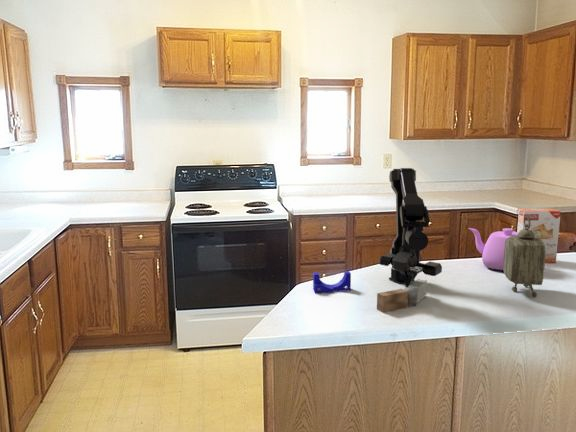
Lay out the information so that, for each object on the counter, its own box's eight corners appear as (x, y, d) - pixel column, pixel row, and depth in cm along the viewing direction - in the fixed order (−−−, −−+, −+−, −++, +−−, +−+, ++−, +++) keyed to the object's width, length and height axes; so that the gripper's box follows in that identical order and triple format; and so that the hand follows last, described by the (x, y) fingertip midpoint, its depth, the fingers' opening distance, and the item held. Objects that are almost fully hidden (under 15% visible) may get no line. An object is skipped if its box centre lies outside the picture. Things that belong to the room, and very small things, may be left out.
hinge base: (410, 302, 158) (411, 286, 158) (419, 305, 155) (419, 289, 154) (376, 309, 153) (376, 292, 152) (384, 313, 149) (384, 296, 148)
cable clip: (315, 293, 168) (315, 276, 167) (313, 289, 172) (313, 272, 171) (351, 292, 169) (351, 274, 168) (348, 288, 173) (348, 271, 172)
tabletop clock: (541, 299, 160) (548, 220, 156) (510, 297, 162) (516, 219, 157) (530, 285, 174) (535, 212, 170) (501, 284, 176) (506, 211, 171)
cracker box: (520, 263, 202) (524, 210, 198) (514, 259, 208) (517, 208, 204) (557, 263, 201) (561, 210, 198) (550, 259, 207) (554, 208, 204)
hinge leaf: (414, 306, 153) (414, 291, 152) (401, 304, 155) (402, 289, 154) (427, 294, 164) (428, 280, 163) (415, 292, 166) (416, 278, 165)
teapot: (535, 263, 201) (538, 225, 199) (524, 276, 184) (527, 235, 182) (475, 255, 214) (477, 220, 212) (460, 267, 197) (462, 228, 195)
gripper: (372, 241, 159) (369, 289, 162) (430, 252, 148) (425, 304, 151) (388, 235, 168) (385, 281, 171) (444, 245, 157) (440, 294, 160)
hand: (407, 290), depth 163 cm, fingers closed
